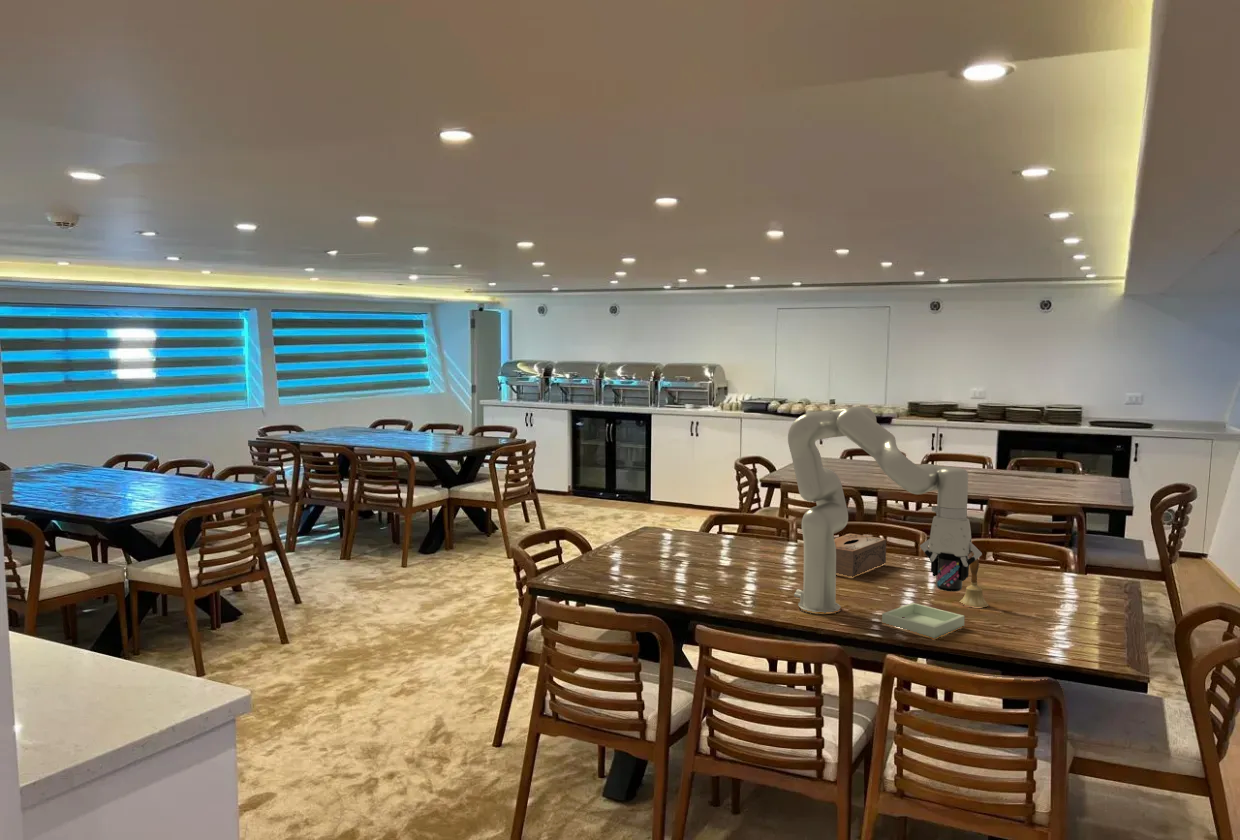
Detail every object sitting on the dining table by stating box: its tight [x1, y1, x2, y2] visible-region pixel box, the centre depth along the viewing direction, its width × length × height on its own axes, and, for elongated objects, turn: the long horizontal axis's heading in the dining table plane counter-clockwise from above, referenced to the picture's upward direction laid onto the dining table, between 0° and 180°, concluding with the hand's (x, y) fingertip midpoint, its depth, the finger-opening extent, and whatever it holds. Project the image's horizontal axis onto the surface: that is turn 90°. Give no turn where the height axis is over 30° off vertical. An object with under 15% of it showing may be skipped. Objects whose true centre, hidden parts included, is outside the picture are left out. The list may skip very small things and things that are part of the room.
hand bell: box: [959, 552, 989, 607], centre depth 251 cm, size 8×8×16 cm
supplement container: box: [935, 552, 963, 592], centre depth 222 cm, size 7×7×10 cm
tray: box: [881, 602, 965, 639], centre depth 231 cm, size 16×16×4 cm
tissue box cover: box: [834, 533, 887, 577], centre depth 294 cm, size 26×14×10 cm, turn 137°
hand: (949, 576), depth 222 cm, fingers closed on supplement container, 6 cm apart
